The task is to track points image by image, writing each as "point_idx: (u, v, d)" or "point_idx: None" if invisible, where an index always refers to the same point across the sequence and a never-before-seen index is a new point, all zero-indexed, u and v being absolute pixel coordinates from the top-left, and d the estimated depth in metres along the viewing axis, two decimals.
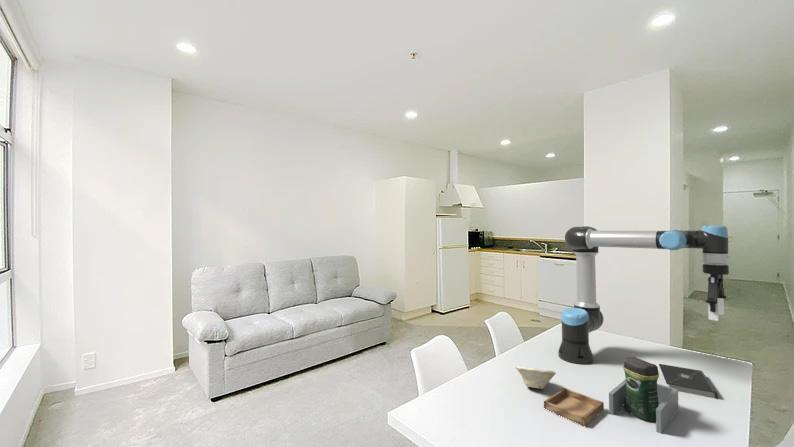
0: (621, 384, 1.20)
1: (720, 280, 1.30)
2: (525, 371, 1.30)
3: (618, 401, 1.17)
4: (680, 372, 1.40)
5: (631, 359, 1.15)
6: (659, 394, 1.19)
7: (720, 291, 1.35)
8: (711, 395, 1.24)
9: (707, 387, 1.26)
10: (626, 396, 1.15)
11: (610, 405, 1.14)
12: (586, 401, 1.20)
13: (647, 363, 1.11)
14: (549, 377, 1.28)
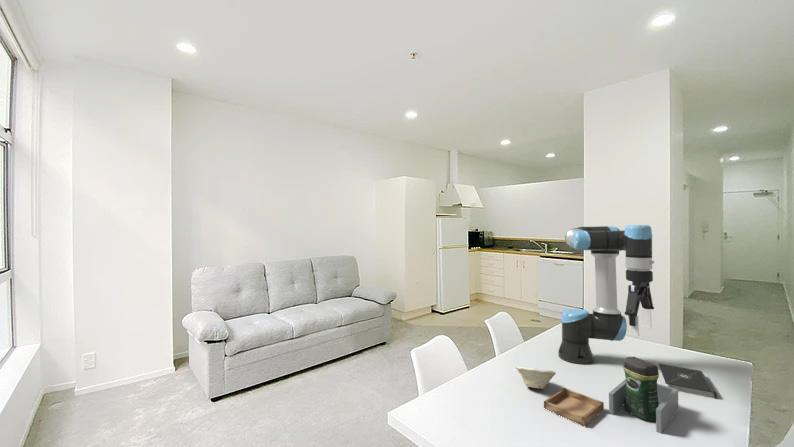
0: (621, 384, 1.20)
1: (643, 288, 1.11)
2: (525, 371, 1.30)
3: (618, 401, 1.17)
4: (679, 372, 1.40)
5: (631, 359, 1.15)
6: (659, 394, 1.19)
7: (646, 301, 1.16)
8: (710, 395, 1.24)
9: (706, 387, 1.26)
10: (626, 396, 1.15)
11: (610, 405, 1.14)
12: (586, 401, 1.20)
13: (647, 363, 1.11)
14: (549, 377, 1.28)
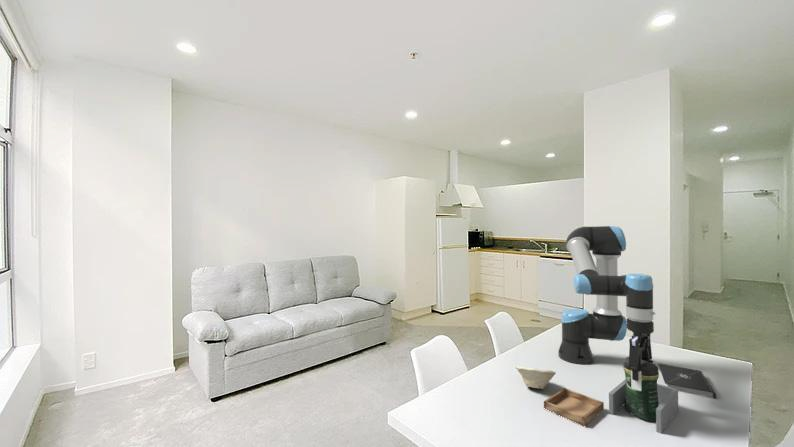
0: (621, 384, 1.20)
1: (644, 340, 1.11)
2: (525, 371, 1.30)
3: (618, 401, 1.17)
4: (679, 372, 1.40)
5: None
6: (659, 394, 1.19)
7: (646, 353, 1.15)
8: (709, 395, 1.24)
9: (705, 387, 1.26)
10: (626, 396, 1.15)
11: (610, 405, 1.14)
12: (586, 401, 1.20)
13: (647, 363, 1.11)
14: (549, 377, 1.28)
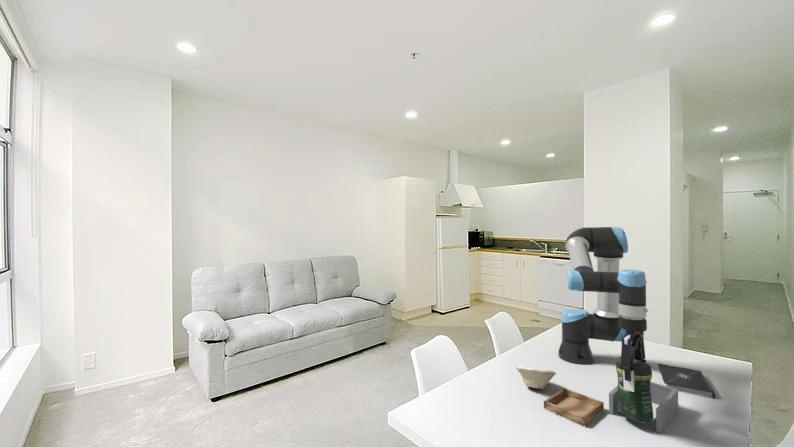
0: None
1: (636, 338, 1.07)
2: (525, 371, 1.30)
3: None
4: (678, 372, 1.40)
5: None
6: (659, 394, 1.19)
7: (639, 352, 1.11)
8: (709, 395, 1.24)
9: (705, 387, 1.26)
10: (618, 397, 1.10)
11: (610, 405, 1.14)
12: (586, 401, 1.20)
13: (640, 362, 1.06)
14: (549, 377, 1.28)
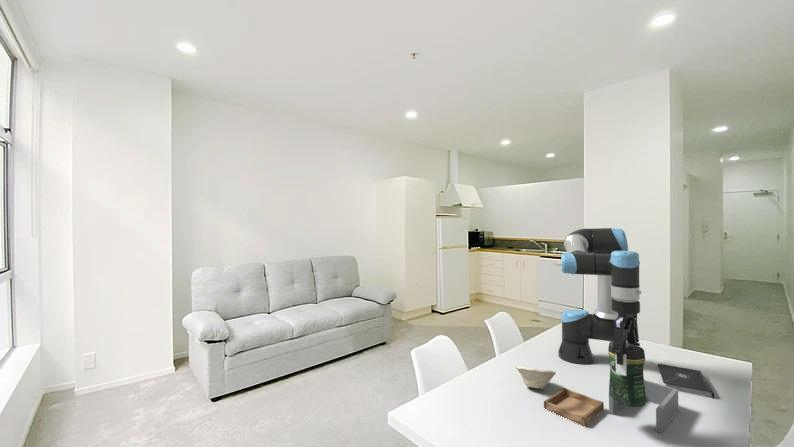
0: None
1: (629, 321, 1.03)
2: (525, 371, 1.30)
3: None
4: (678, 372, 1.40)
5: None
6: (659, 394, 1.19)
7: (632, 335, 1.07)
8: (708, 395, 1.24)
9: (704, 387, 1.27)
10: (611, 382, 1.07)
11: (610, 405, 1.14)
12: (586, 401, 1.20)
13: (633, 346, 1.03)
14: (549, 377, 1.28)
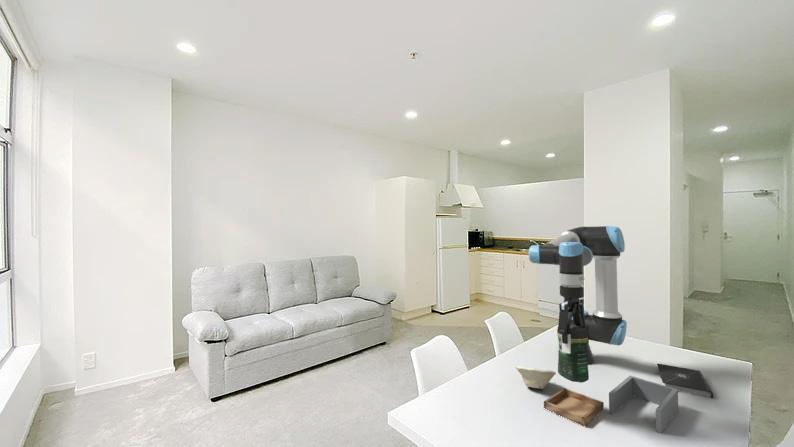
0: (621, 384, 1.20)
1: (574, 305, 1.15)
2: (525, 371, 1.30)
3: (618, 401, 1.17)
4: (677, 372, 1.40)
5: None
6: (659, 394, 1.19)
7: (578, 318, 1.19)
8: (707, 395, 1.24)
9: (703, 387, 1.27)
10: (559, 360, 1.18)
11: (610, 405, 1.14)
12: (586, 401, 1.20)
13: (577, 327, 1.14)
14: (549, 377, 1.28)
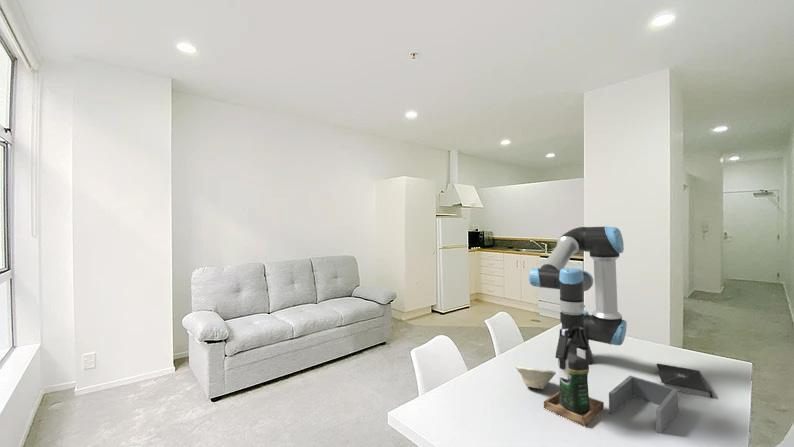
0: (621, 384, 1.20)
1: (574, 332, 1.15)
2: (525, 371, 1.30)
3: (618, 401, 1.17)
4: (677, 371, 1.40)
5: None
6: (659, 394, 1.19)
7: (580, 342, 1.19)
8: (706, 394, 1.25)
9: (702, 387, 1.27)
10: (560, 390, 1.18)
11: (610, 405, 1.14)
12: None
13: (578, 358, 1.15)
14: (549, 377, 1.28)
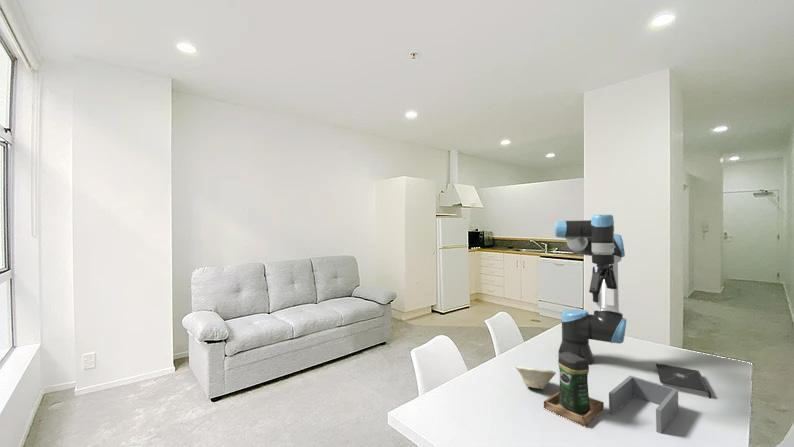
0: (621, 384, 1.20)
1: (605, 270, 1.28)
2: (525, 371, 1.30)
3: (618, 401, 1.17)
4: (676, 371, 1.40)
5: (565, 354, 1.19)
6: (659, 394, 1.19)
7: (610, 281, 1.32)
8: (704, 394, 1.25)
9: (701, 387, 1.27)
10: (560, 390, 1.18)
11: (610, 405, 1.14)
12: None
13: (578, 358, 1.15)
14: (549, 377, 1.28)
